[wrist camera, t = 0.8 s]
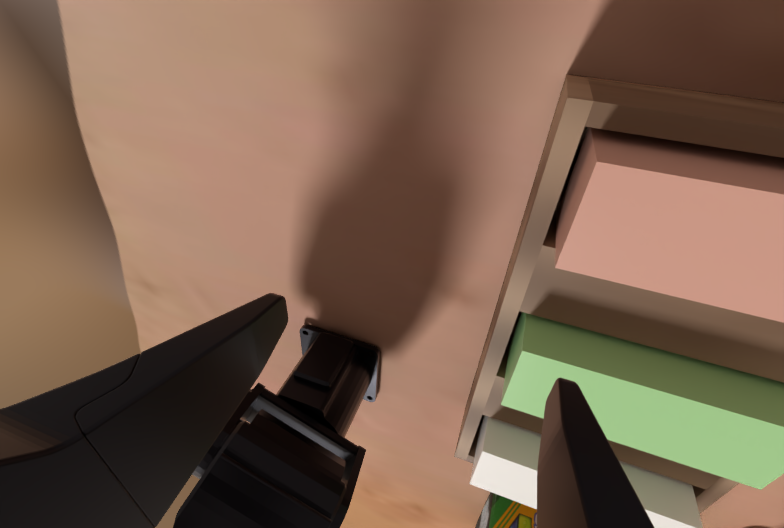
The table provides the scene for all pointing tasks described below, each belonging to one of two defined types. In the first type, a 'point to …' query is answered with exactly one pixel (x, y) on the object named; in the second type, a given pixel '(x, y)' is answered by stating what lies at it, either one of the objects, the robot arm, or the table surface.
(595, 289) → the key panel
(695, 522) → the white rectangular block
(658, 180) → the pink block
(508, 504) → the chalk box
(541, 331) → the green block
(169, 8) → the table surface
